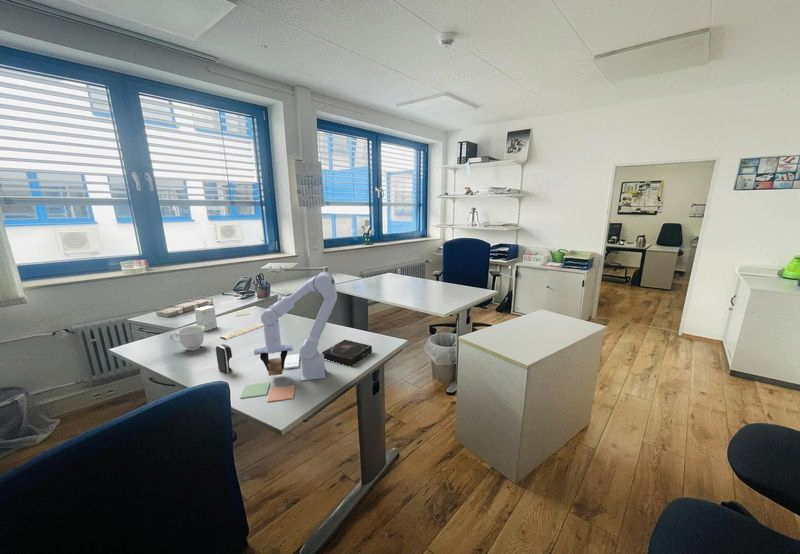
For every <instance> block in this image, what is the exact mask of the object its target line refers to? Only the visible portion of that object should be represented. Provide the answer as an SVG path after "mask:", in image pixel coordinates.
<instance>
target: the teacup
mask: <svg viewBox="0 0 800 554" xmlns="http://www.w3.org/2000/svg"><path fill="white" fill-rule="evenodd" d="M204 329H205V327H204V326H199V325H198V326H197V325H190V326H186V327H183V328H180V329H178V330H177V331H176V332H175V331H173V332H171V333H170V334H169V338H170V340H171V341H173V342H178V343H180V344H181V345H182V347H184V348H186V350H187V351H189V350H192V351H196V350H199V349H200V348H201V345H202V344H203V343H204V337H205V336H204V333H205V332H204ZM173 335H175V336H176V337H179V339H176V338H174V337H173Z"/></svg>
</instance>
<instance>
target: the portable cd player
mask: <svg viewBox="0 0 800 554" xmlns="http://www.w3.org/2000/svg"><path fill="white" fill-rule="evenodd" d="M321 352H322V353H321V354H324V359H327V360H330V361H329V362H331V361H334V362H333V363H335V362H337V363H336V364H338V363H340V364H339V365H342V364H344V365H343V366H345V365H347V367H349V366H351V367H350V368H352V367H354V366H355V365H356V364H358V363H359V362H361V361H362V360H363V358H364V357H365V358H366V357H368V356H369V355H371V354H372V353H373V346H372V345H370V344H365V343H361V342H357V341H354V340H353V341H352V340H348V339H343V340H341V341H339V342H337V343H336V344H334V345H333V346H330V347H329V348H327V349H325V350H323V351H321ZM371 352H372V353H371ZM370 353H371V354H370ZM368 354H369V355H368ZM367 355H368V356H367ZM365 358H364V359H365ZM361 359H362V360H361ZM327 360H326V361H327ZM360 360H361V361H360ZM357 362H358V363H357ZM354 364H355V365H354ZM353 365H354V366H353Z"/></svg>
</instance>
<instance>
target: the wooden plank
mask: <svg viewBox="0 0 800 554" xmlns="http://www.w3.org/2000/svg"><path fill="white" fill-rule="evenodd" d="M262 326H263V327H264V324H262V323H256V324H253V325H251V326H248V327H245V328H242V329H240V330H236V331H233V332H230V333H227V334H225V335H222V336H221V337H222V338H224V339H225V340H226V339H228V340H230V339H233V338H235V337H234V336H236V337H238V336H237V335H239V336H241V335H244V334H246V332H247V333H249V332H248V331H250V332H252V331H255V330H257V328H258V329H260V328H259V327H261V328H263V327H262ZM254 329H255V330H254ZM251 330H252V331H251ZM243 333H244V334H243ZM240 334H241V335H240ZM232 337H233V338H232ZM229 338H230V339H229Z"/></svg>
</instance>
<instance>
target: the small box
mask: <svg viewBox="0 0 800 554" xmlns="http://www.w3.org/2000/svg"><path fill="white" fill-rule="evenodd" d="M194 315H195V321H196V326H198V325H199V326H204V327H205V329H204V333H205V332H208V331H210V330H214V329H216V327H217V328H218V325H217V324H218V323H217V316H216V308H215V306H213V305H204V306H201V307H197V308H194ZM213 328H214V329H213Z"/></svg>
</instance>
